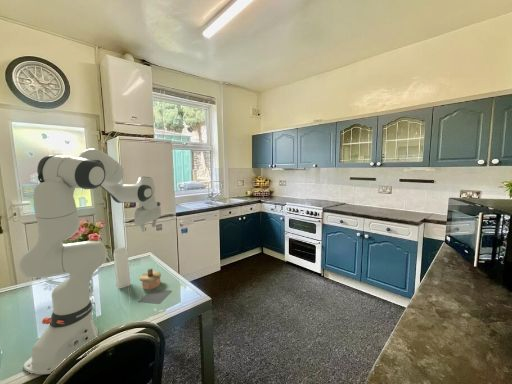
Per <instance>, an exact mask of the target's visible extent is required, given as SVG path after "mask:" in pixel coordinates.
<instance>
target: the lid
mask: <svg viewBox="0 0 512 384" xmlns="http://www.w3.org/2000/svg"><path fill="white" fill-rule="evenodd" d="M161 277H162V272H160V271H157V270H156V271H155V270H154V271H153V268H148V269H147V272H145V273H143V274H141V275H140V276H139V281H140V282H141V281H142V282H151V281H154V280H157V279H159V278H160V279H161ZM142 282H141V283H142Z"/></svg>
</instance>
